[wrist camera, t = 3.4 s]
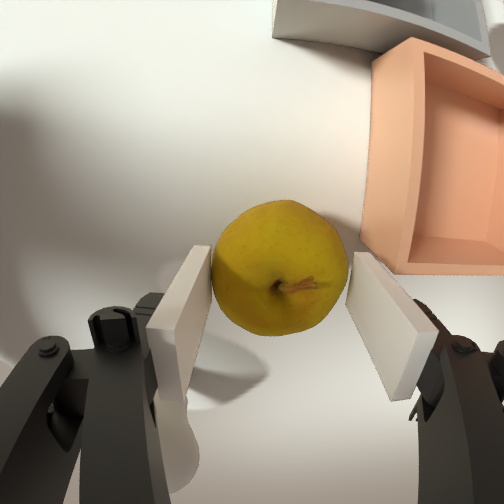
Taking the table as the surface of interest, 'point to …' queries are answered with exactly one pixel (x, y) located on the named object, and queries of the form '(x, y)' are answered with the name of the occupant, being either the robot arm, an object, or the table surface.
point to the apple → (278, 269)
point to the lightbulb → (176, 443)
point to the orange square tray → (435, 163)
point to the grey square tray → (385, 23)
